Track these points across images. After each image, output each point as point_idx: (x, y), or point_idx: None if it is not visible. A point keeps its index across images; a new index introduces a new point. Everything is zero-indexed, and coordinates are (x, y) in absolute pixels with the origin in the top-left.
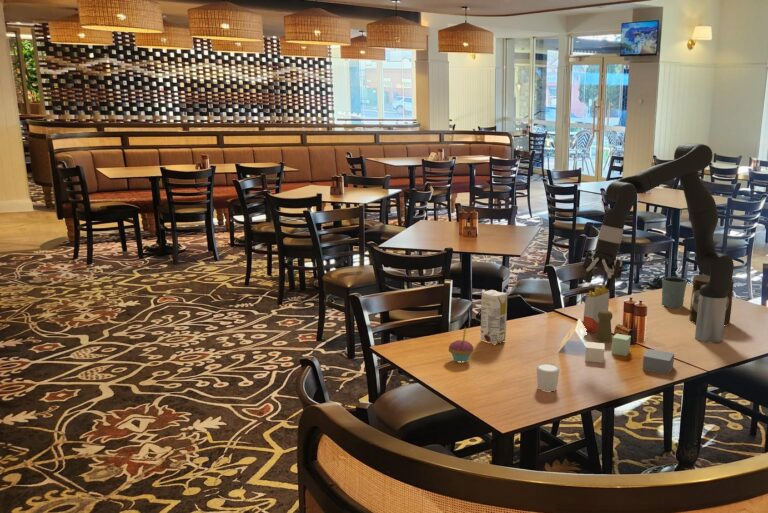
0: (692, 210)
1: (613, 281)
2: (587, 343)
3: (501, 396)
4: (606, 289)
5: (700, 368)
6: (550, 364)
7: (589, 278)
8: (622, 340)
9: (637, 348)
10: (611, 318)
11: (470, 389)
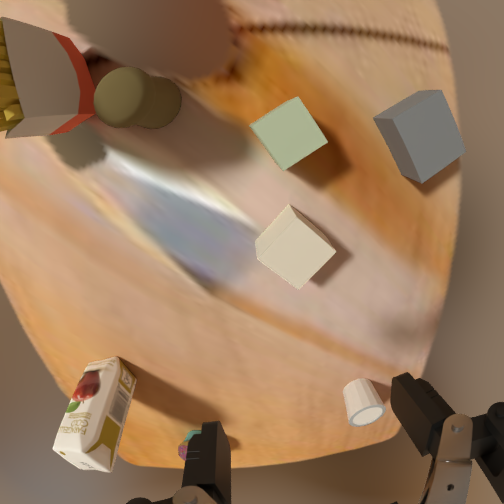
0: None
1: (448, 408)
2: (271, 266)
3: (338, 430)
4: None
5: (443, 48)
6: (361, 411)
7: (224, 459)
8: (312, 150)
9: (272, 57)
10: (152, 81)
11: (300, 447)
